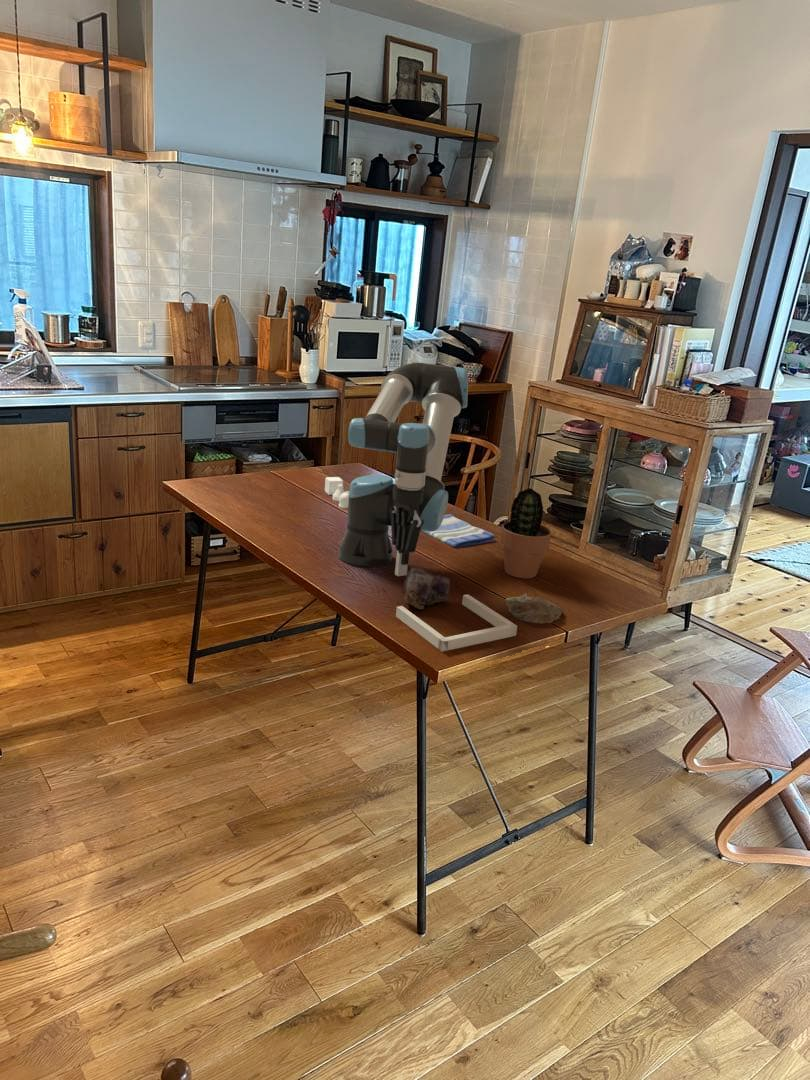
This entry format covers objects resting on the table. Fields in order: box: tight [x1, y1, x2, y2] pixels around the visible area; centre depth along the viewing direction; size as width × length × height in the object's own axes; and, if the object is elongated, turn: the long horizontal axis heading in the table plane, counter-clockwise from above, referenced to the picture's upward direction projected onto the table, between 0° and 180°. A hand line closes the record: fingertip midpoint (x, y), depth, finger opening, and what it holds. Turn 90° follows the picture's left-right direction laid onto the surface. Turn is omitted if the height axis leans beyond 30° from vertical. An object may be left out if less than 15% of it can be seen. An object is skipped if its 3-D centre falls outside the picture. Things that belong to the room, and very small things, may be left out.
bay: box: [395, 594, 518, 653], centre depth 192 cm, size 20×21×2 cm
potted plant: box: [500, 487, 553, 579], centre depth 225 cm, size 14×14×25 cm
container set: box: [324, 476, 350, 509], centre depth 280 cm, size 20×5×6 cm, turn 22°
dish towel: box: [421, 513, 496, 549], centre depth 257 cm, size 17×24×3 cm
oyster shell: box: [505, 592, 563, 624], centre depth 202 cm, size 11×15×6 cm
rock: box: [403, 566, 451, 610], centre depth 202 cm, size 12×9×10 cm
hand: (400, 574), depth 210 cm, fingers closed
